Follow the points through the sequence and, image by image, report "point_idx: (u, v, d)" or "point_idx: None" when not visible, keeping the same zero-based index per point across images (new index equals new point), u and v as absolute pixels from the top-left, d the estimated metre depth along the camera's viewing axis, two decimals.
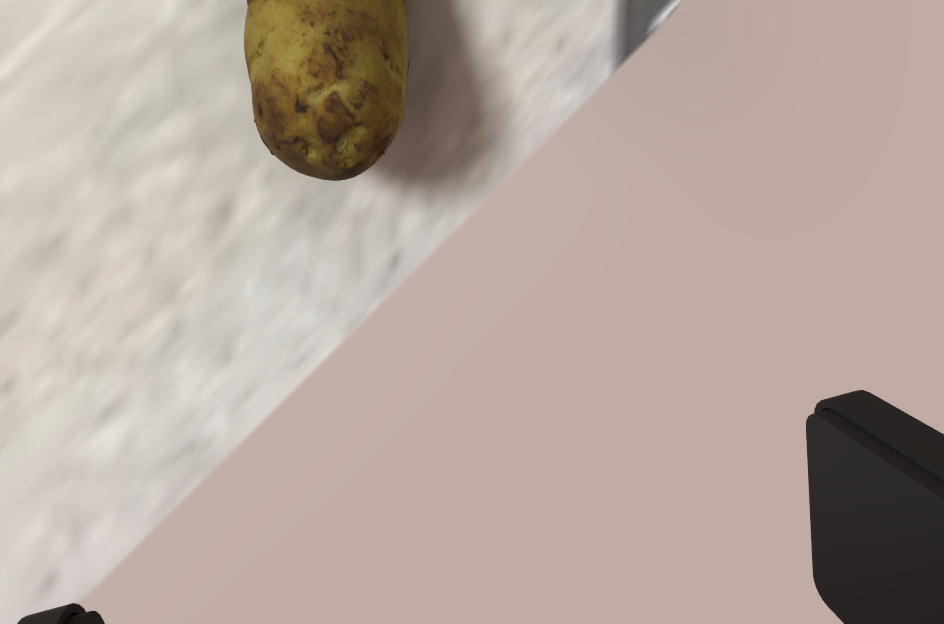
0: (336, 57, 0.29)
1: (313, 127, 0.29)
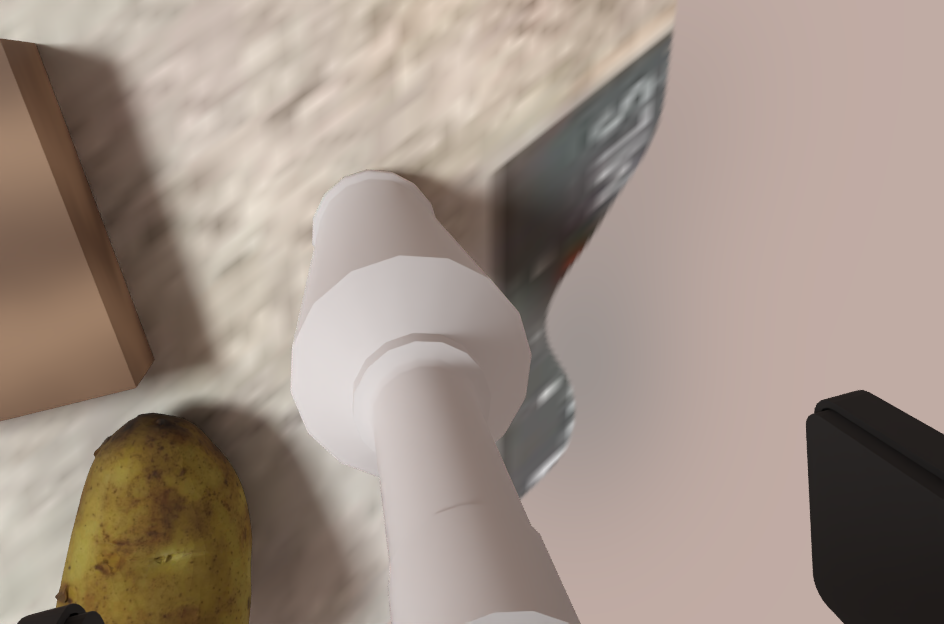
0: None
1: None
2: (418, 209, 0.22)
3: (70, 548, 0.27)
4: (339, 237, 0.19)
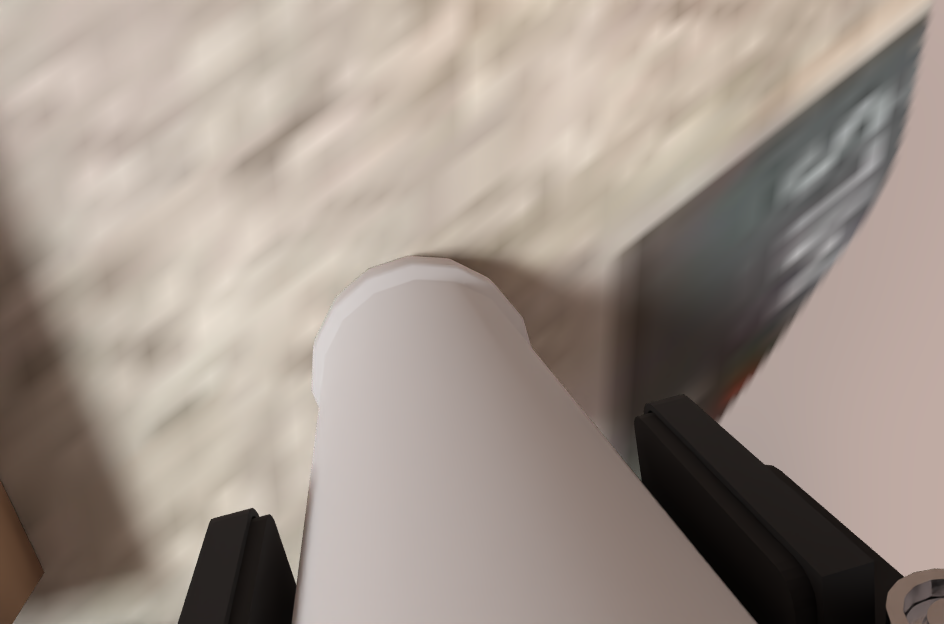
0: None
1: None
2: (555, 408, 0.09)
3: None
4: (380, 591, 0.06)
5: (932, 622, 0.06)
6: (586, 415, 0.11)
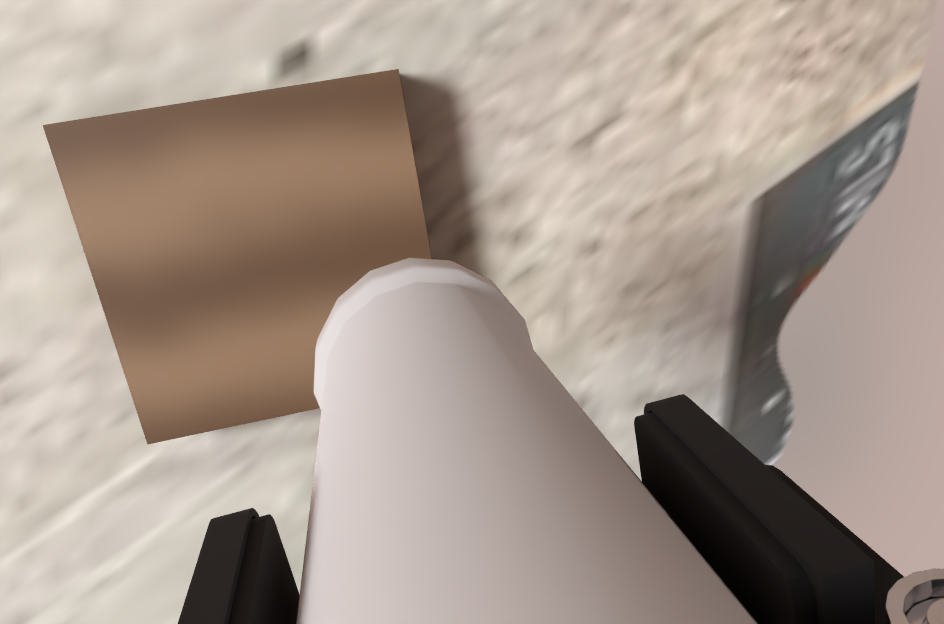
0: None
1: None
2: (558, 411, 0.09)
3: None
4: (385, 596, 0.06)
5: (932, 622, 0.06)
6: None
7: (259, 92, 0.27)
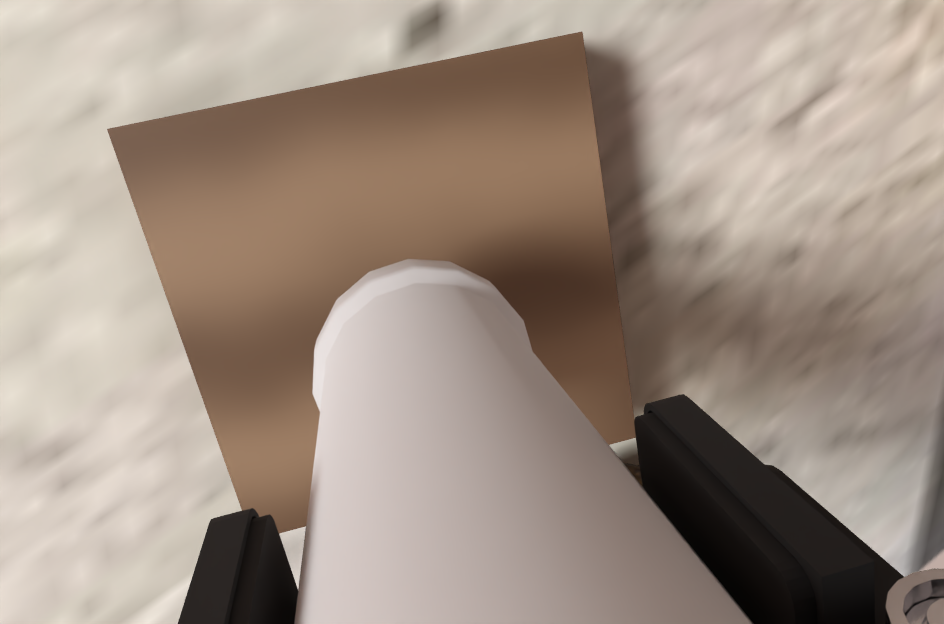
0: None
1: None
2: (556, 413, 0.09)
3: None
4: (383, 599, 0.06)
5: (932, 622, 0.06)
6: (587, 420, 0.11)
7: (397, 71, 0.19)
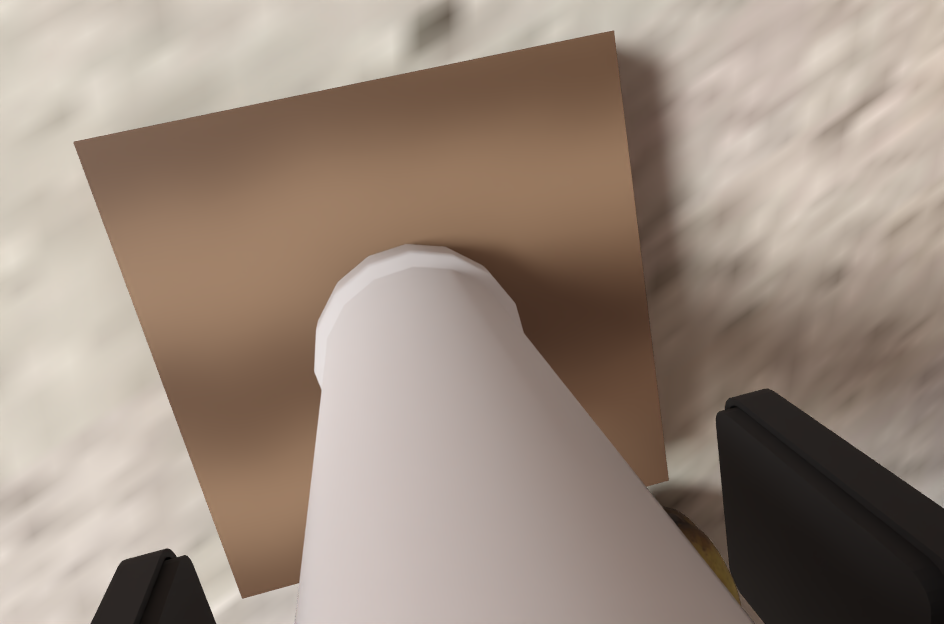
0: None
1: None
2: (540, 385, 0.10)
3: None
4: (380, 539, 0.07)
5: None
6: (570, 393, 0.12)
7: (405, 75, 0.17)
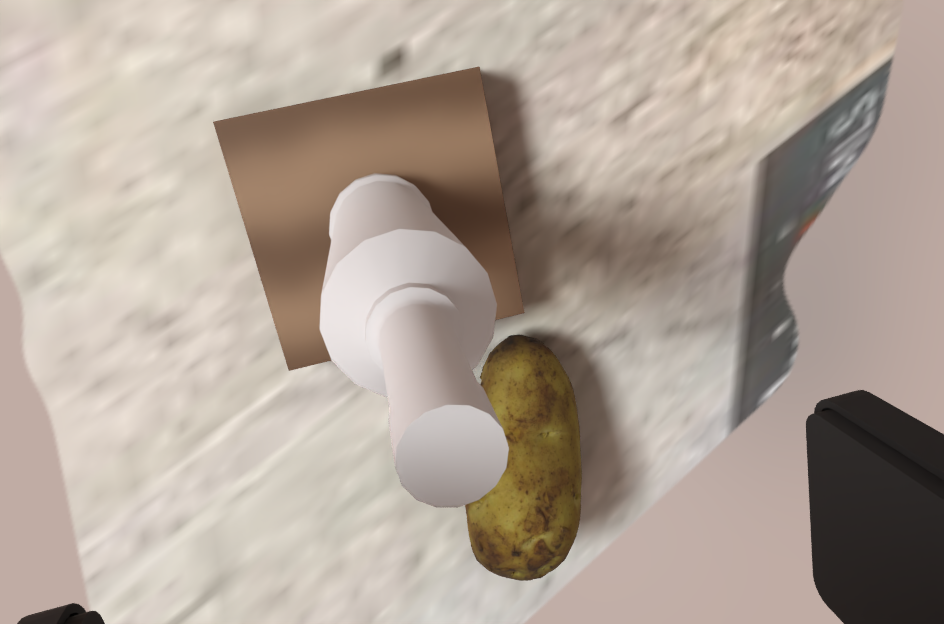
0: (544, 515, 0.37)
1: (524, 564, 0.38)
2: (416, 203, 0.28)
3: None
4: (354, 222, 0.24)
5: None
6: None
7: (374, 89, 0.34)
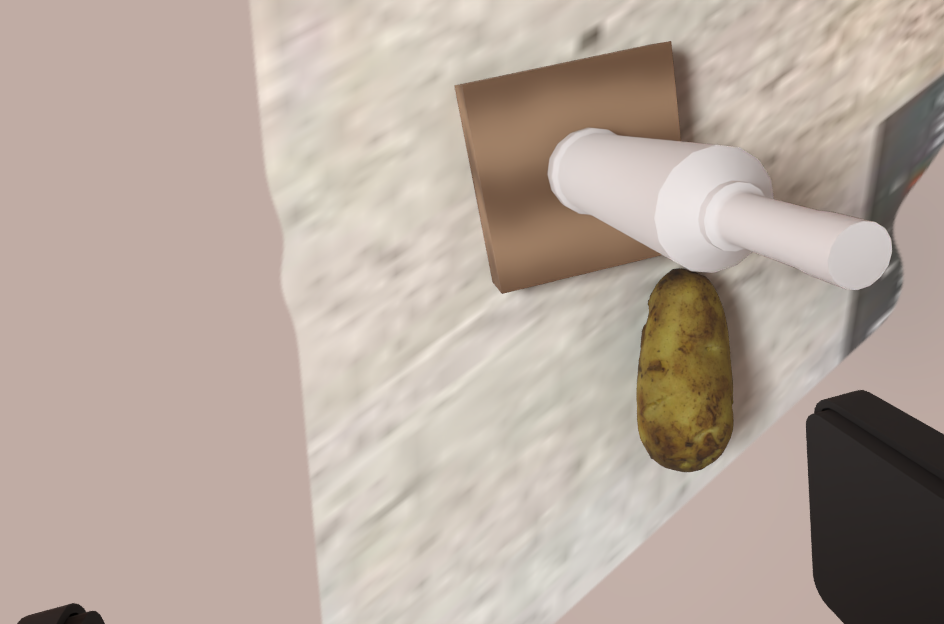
0: (712, 412, 0.45)
1: (694, 454, 0.46)
2: None
3: (655, 341, 0.46)
4: (638, 151, 0.32)
5: None
6: None
7: (587, 59, 0.42)
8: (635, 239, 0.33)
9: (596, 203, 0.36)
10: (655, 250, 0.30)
